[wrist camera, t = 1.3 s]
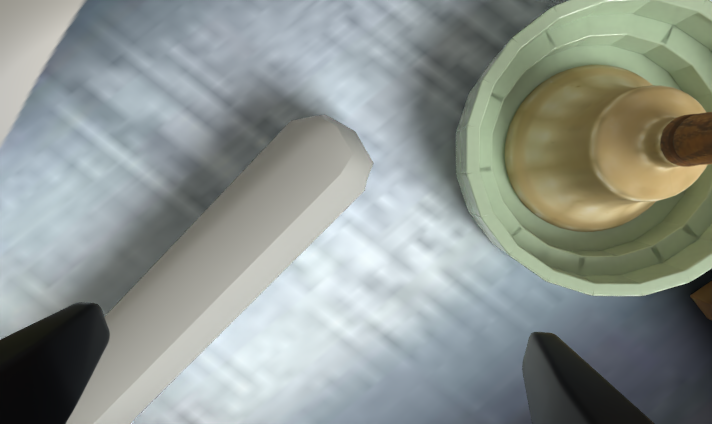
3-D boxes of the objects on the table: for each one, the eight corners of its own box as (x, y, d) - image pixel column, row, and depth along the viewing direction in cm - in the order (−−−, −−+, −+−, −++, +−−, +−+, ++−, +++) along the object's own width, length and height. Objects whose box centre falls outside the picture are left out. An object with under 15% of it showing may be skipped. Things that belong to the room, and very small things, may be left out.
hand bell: (582, 264, 21) (1119, 521, 6) (470, 151, 21) (688, 87, 6) (712, 149, 20) (1827, 64, 5) (594, 30, 20) (1297, -473, 5)
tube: (298, 73, 18) (-39, 432, 21) (377, 152, 17) (-1, 531, 19) (339, 116, 23) (62, 402, 26) (403, 181, 22) (100, 479, 24)
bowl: (755, 231, 21) (827, 243, 17) (498, 307, 22) (518, 332, 19) (682, -25, 20) (742, -66, 17) (421, 72, 22) (427, 53, 18)
